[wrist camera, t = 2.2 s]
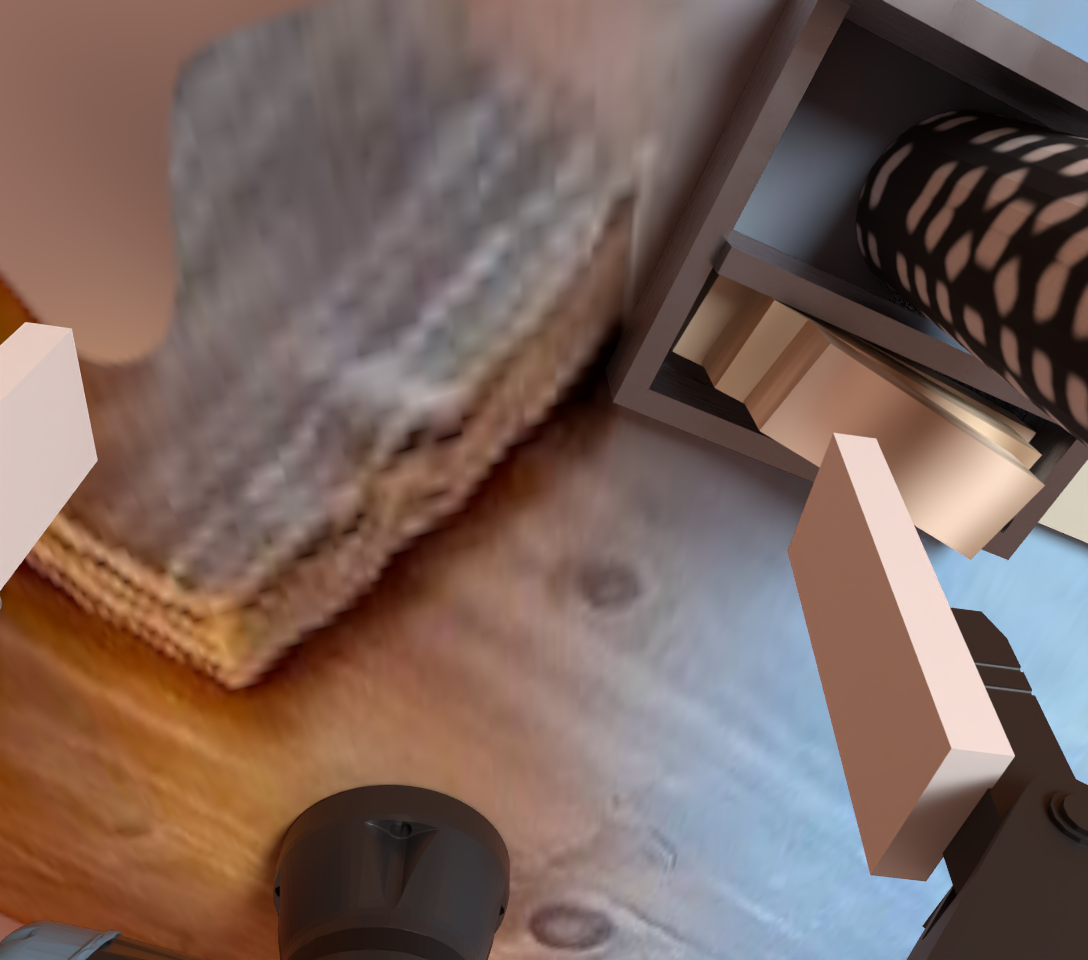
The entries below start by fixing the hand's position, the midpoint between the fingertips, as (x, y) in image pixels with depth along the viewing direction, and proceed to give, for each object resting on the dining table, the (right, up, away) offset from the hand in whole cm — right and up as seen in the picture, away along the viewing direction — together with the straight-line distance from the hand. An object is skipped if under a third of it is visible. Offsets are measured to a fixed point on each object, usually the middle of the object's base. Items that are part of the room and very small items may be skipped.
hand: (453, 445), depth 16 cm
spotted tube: (+20, +12, +26) cm, 34 cm away
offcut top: (+17, +2, +25) cm, 30 cm away
